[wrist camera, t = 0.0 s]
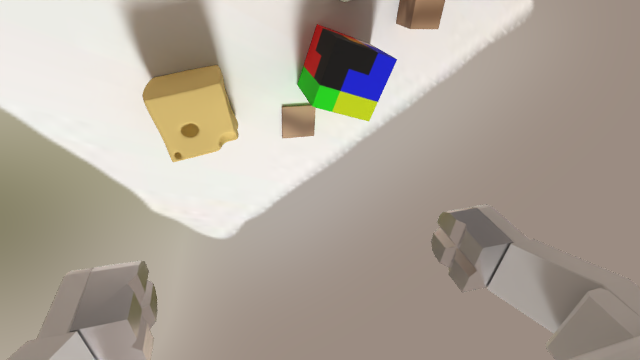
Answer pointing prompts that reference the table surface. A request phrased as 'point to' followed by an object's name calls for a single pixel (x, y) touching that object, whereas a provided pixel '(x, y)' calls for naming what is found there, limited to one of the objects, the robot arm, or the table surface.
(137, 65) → the table surface
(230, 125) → the cheese
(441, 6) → the walnut block
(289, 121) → the swatch tile
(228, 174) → the table surface
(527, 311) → the robot arm
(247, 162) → the table surface
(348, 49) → the puzzle toy
